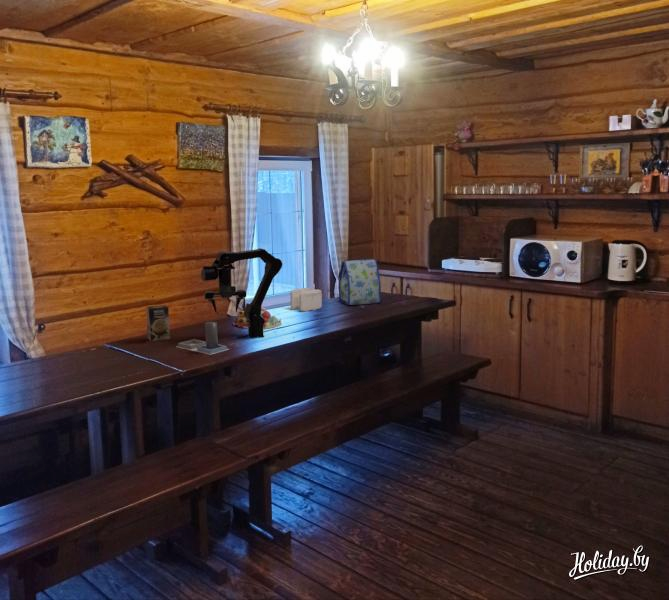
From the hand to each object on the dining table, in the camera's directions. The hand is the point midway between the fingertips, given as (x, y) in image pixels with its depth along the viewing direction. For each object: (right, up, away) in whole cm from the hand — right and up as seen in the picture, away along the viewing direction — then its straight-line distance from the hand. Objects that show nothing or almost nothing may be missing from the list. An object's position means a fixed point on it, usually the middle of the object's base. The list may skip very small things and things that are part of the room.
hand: (226, 312), depth 314 cm
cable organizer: (+34, 0, +72) cm, 79 cm away
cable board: (-8, -16, -16) cm, 24 cm away
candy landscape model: (+11, -7, +36) cm, 38 cm away
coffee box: (-32, -13, +3) cm, 35 cm away
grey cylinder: (-3, -16, -20) cm, 25 cm away
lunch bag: (+65, +4, +90) cm, 111 cm away
